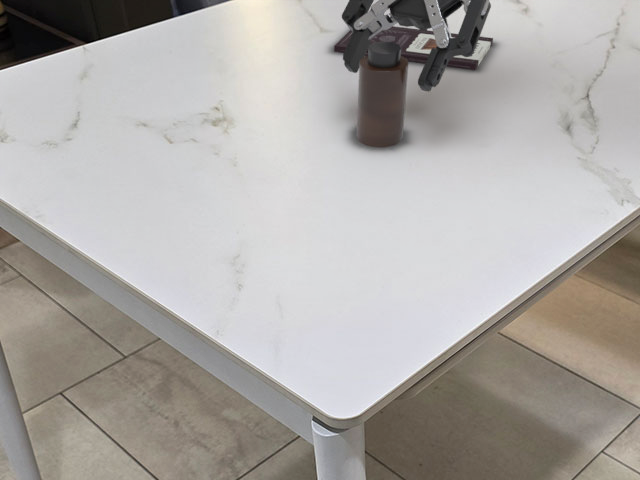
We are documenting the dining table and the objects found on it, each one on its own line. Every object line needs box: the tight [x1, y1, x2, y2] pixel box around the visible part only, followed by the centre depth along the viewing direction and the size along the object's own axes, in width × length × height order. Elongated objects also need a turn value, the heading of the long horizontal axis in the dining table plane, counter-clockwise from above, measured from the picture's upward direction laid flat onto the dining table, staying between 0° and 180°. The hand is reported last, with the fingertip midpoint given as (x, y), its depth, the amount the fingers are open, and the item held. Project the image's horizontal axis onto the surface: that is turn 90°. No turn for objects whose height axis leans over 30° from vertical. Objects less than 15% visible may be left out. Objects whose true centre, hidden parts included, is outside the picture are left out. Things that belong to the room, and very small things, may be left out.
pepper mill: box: [355, 42, 409, 148], centre depth 87 cm, size 5×5×10 cm
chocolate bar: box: [333, 25, 494, 71], centre depth 108 cm, size 9×1×18 cm
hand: (385, 78), depth 86 cm, fingers open, 8 cm apart
